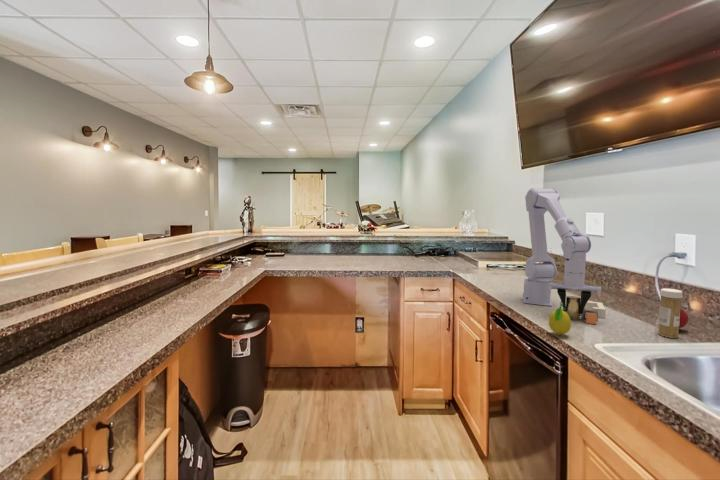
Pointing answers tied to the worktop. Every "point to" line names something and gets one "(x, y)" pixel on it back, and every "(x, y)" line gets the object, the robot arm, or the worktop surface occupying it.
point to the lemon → (560, 321)
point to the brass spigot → (573, 307)
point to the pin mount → (589, 312)
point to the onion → (683, 318)
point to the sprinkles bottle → (669, 312)
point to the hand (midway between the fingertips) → (572, 312)
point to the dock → (596, 308)
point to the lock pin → (591, 318)
